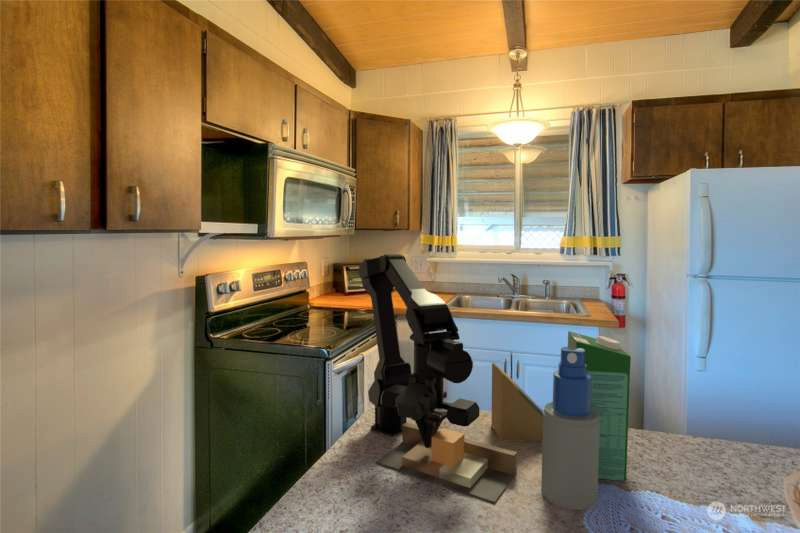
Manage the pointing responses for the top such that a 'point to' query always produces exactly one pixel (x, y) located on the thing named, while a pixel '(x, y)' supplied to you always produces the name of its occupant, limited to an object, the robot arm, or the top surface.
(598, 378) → the milk carton
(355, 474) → the top surface
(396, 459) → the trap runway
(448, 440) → the block
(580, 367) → the spray bottle
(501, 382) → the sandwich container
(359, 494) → the top surface
